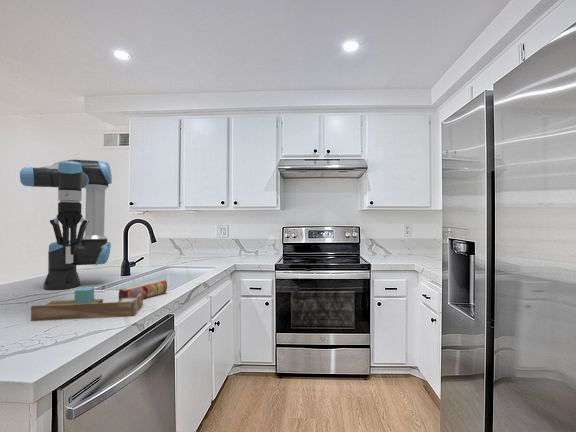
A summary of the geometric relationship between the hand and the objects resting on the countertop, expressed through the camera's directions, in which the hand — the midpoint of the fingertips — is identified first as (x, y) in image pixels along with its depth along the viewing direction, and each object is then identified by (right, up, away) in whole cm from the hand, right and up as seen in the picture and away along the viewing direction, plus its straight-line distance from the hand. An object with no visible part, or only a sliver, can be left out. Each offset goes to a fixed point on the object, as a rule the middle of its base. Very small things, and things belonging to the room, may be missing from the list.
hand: (69, 263), depth 125 cm
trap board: (+9, -18, -1) cm, 21 cm away
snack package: (+20, -19, +20) cm, 34 cm away
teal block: (+5, -15, +1) cm, 16 cm away
